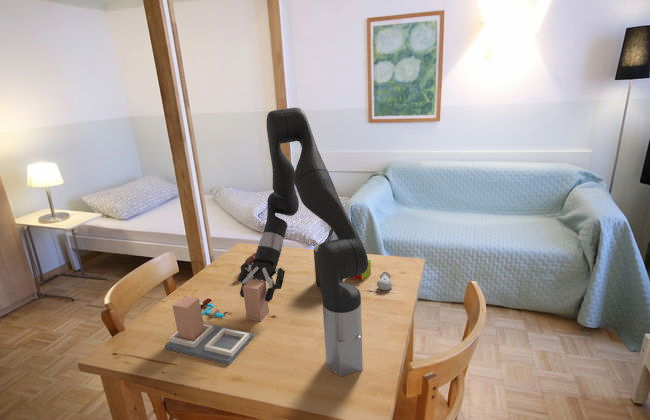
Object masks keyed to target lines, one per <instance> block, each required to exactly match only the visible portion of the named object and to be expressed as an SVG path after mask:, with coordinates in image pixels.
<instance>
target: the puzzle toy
mask: <svg viewBox="0 0 650 420" xmlns="http://www.w3.org/2000/svg"><path fill="white" fill-rule="evenodd" d="M371 262H372V261H371V259H368V268H367V270H366V272H365V273H363V274H360V275H357V276H353V277H351V278H352V279H356V280H359V281H361V282H362V281H363V280H365V279H367V277H369V276H371V275H372V267H371V264H372V263H371Z"/></svg>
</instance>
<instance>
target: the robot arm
mask: <svg viewBox="0 0 650 420" xmlns="http://www.w3.org/2000/svg"><path fill="white" fill-rule="evenodd" d="M266 132H267V140H268V148H269V155H270V161H271V167H272V169H271V170H272V190H273V192H271V193H270V194H269V196H268V197H267V213H266V215H267V216H266V222H265V225H264V229H263V232H262V235H261V237H260V239H259V242H258V245H257V249H256V252H255V253H256V255H255V256H254V257H255V258H254V263H252V264H253V265H248V264H247V263H245V262H244V263H243V264H242V265H243V267H242V270H241V269H240V273H239V275H238V277H237V280H238V282H240V283H241V288H240V291H239V295H240V297H242V298H243V299H244V294H243V286H244V285H245V284H246V283H247V282H249V281H250V280H251V279H255V280H262V281H266V284H268V285H267V286H268V288H267V293H266V297H265V301H267V302H268V303H270V302H271V301H272V300H273V296H274V294H275V293H274V292H275V291H276V290H281V289H282V287H283V283H284V278H285V273H286V271H285V270H284V269H283V268H282V267H279V268H277V266H278V265H279V264H278V263H279V261H280V257H281V254H282V250H283V247H284V240H285V237H286V233H287V230H288V229H287V228H288V222H287V221H286V220H284V219H283V218H280V217H278V216H277V215H276V214H278V215H279V214H280V215H283V216H287V217H292V216H294V215H296V214H297V213H298V211H299V206H300V201H301V203H302V204H303V206H304V207H305V208H306V209H307V210H309V211H310V212H311V213H312V214H313V215H315V216H316V217H318V218H319V219H320V220H322V221H323V222H324V223H326V224H327V225H328V227H330V229H331V230H332V231H333V232H334V234H335V235H336V237H337V239H333V240H328V241H323V242H320V243H319V244H320V245H319V247H318V249H317V263H318V270H319V278H320V288H321V289H320V288H319V289H320V293H321V299H322V300H321V302H322V314H323V316H322V317H323V333H324V347H325V348H324V349H325V359H326V360H325V362H326V366H327V368H328V369H329V370H330V371H332V372H334V373H335V374H336V375H338V377H342V376H343V377H344V376H345V375H346V376H348V375H350V374H353V373H357V372H361V371H363V367H364V365H363V360H364V359H363V333H362V332H363V330H362V327H363V326H362V298H361V297H362V296H361V292H360V289H359V288H357V287H356V286H354V285H353V284H350V283H345V282H343V283H339V280H342V279H343V280H346V279H349V278H352V277H353V276H357V275H360V274H363V273H365V272H366V270H367V268H368V260H369V259H368V254H367V251H366V249H365V246H364V244H363V241H362V240H361V237H360V235H359V234H358V232H357V230H356V229H355V227H354V225H353V223H352V221H351V219H350V218H349V216H348V214H347V212H346V210H345V208H344V206H343V203H342V201H341V199H340V197H339V195H338V192H337V190H336V186H335V184H334V182H333V179H332V177H331V175H330V172H329V171H328V169H327V167H326V165H325V163H324V160H323V158H322V155H321V154H320V151H319V149H318V146H317V144H316V143H317V142H316V141H315V137H314V134H313V132H312V129H311V126H310V123H309V120H308V118H307V115H306V113H305V112H304V110H303V109H302V108H300V107H290V108H289V107H288V108H281V109H275V110H271V111H269V112H268V113H267V115H266ZM293 142H298V143H299V144H300V147H301V151H300V155H299V159H298V161H297V165H296V167H295V168H294V166H293V164H292V162H291V161H290V160H289V158H287V156H286V155H285V154H284V152H283V150H282V148H281V144H287V143H293ZM299 198H300V201H299ZM250 270H251V271H250ZM249 271H250V274H248V272H249ZM275 274H276V278H275V280H274V277H273V276H274V275H275Z"/></svg>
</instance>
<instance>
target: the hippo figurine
mask: <svg viewBox="0 0 650 420" xmlns="http://www.w3.org/2000/svg"><path fill="white" fill-rule="evenodd" d="M379 276H380V277H379V279H378V280H377V281H376V286H377V288H378V289H380V290H381V291H388V290H390V289H391V288H392V287H393V282H392V279H391V274H390V273H389V272H388V271H383V272H382V273H381V274H380V275H379Z"/></svg>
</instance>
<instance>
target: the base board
mask: <svg viewBox="0 0 650 420" xmlns="http://www.w3.org/2000/svg"><path fill="white" fill-rule="evenodd" d="M171 305H172V310H173V316H174V320H175V324H176V325H175V326H176V330H177V331H175V333H173V334H172V335H171V336H169V337H168V342H167V343H166V344H165V345H164V350H168V351H172V352H176V353H180V354H184V355H187V356H193V357H195V358H200V359H205V360H208V361H212V362H216V363H221V364H223V365H224V364H225V365H228V366H230V365H232V363H233V362H234V361H235V359H236V358H237V357H238V356H239V355H240V354H241V352H242V351H243V350H244V349H245V348H246V347H247V346H248V345H249V343H250V342H251V341H252V340H253V339H254V338H255V336H254V333H252V332H247V331H242V330H239V329H233V328H227V327H223V326H219V325H213V324H209V323H204V320H203V316H202V313H201V310H202V309H201V307H200V298H199V297H194V296H187V295H184V296H182V297H181V298H180V299H178V300H176V302H174V303H173V304H171Z"/></svg>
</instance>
